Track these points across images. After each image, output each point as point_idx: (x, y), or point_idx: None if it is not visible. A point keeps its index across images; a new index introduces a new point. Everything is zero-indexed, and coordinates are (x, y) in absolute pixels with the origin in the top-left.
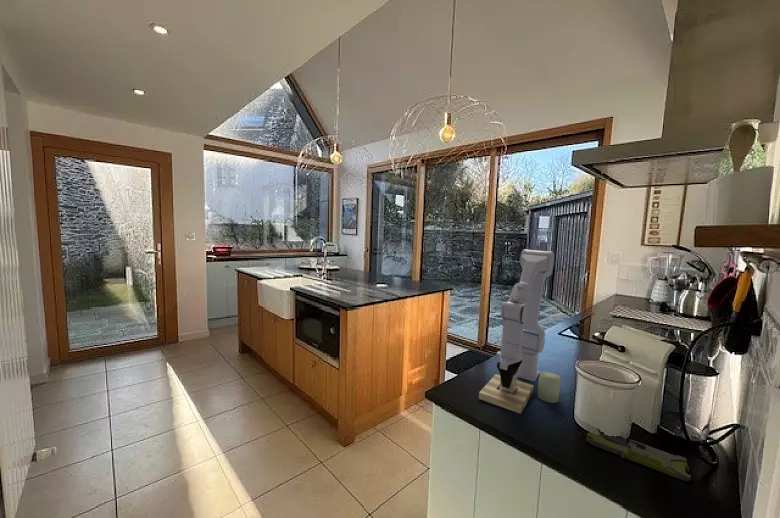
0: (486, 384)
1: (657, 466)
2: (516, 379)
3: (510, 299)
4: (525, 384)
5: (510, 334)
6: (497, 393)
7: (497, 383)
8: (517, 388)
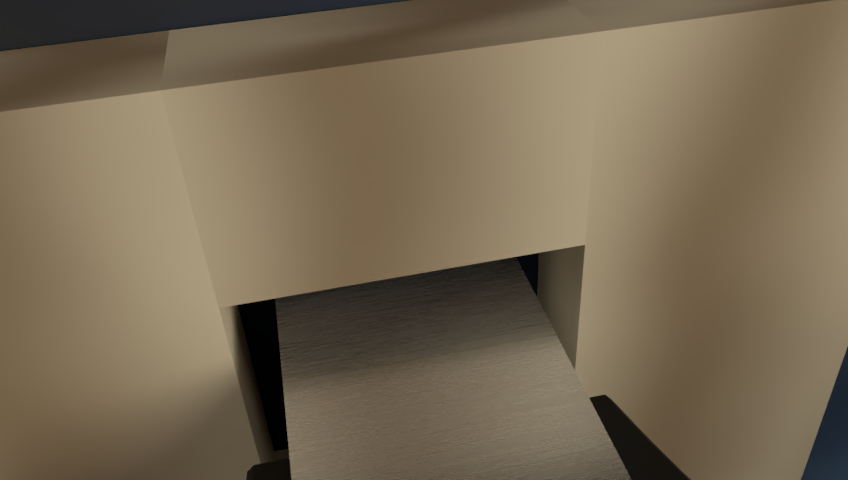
0: (261, 80)
1: None
2: None
3: None
4: (758, 468)
5: None
6: (77, 397)
7: (509, 215)
8: None
